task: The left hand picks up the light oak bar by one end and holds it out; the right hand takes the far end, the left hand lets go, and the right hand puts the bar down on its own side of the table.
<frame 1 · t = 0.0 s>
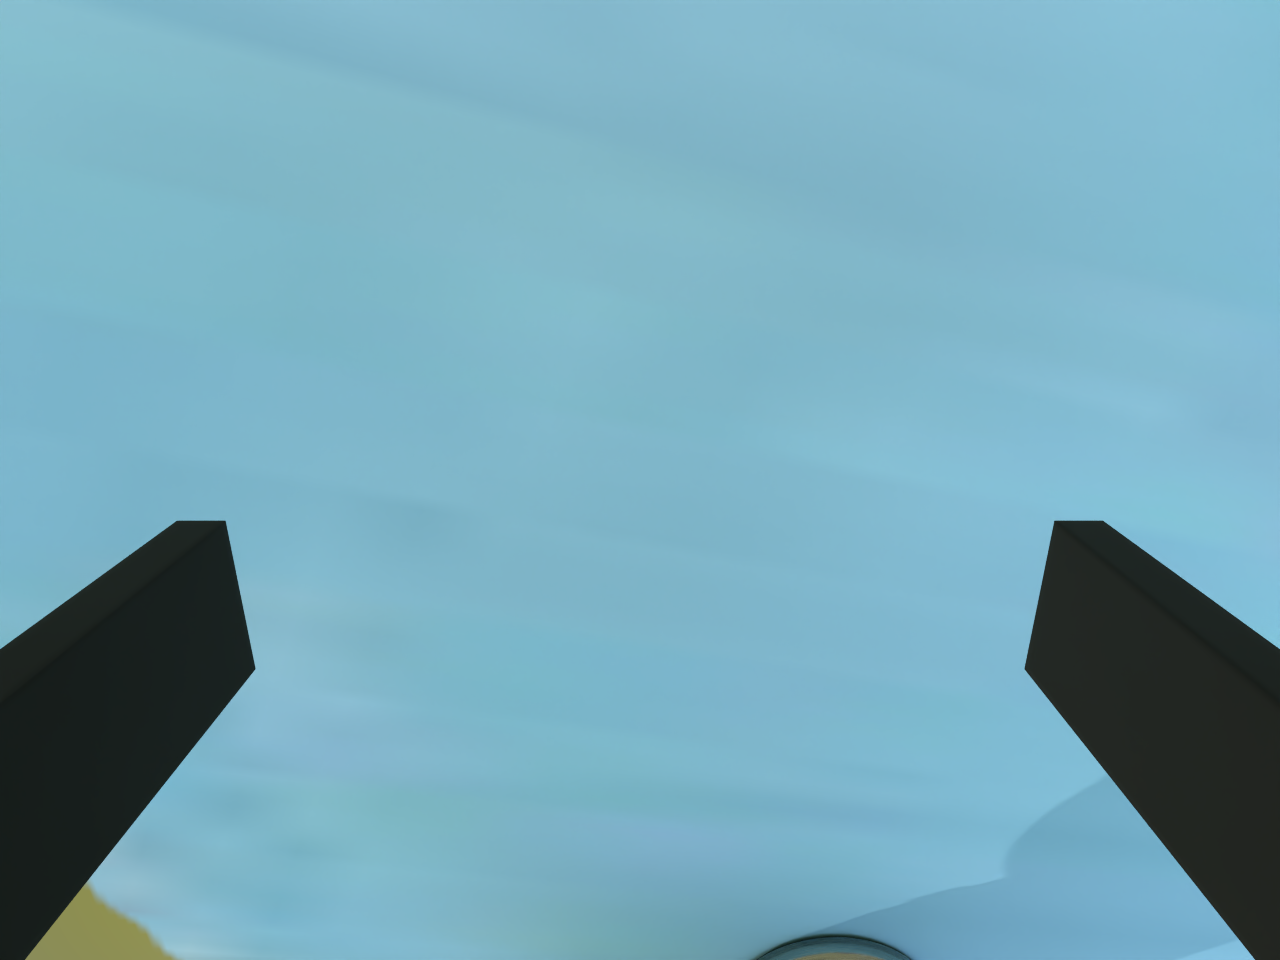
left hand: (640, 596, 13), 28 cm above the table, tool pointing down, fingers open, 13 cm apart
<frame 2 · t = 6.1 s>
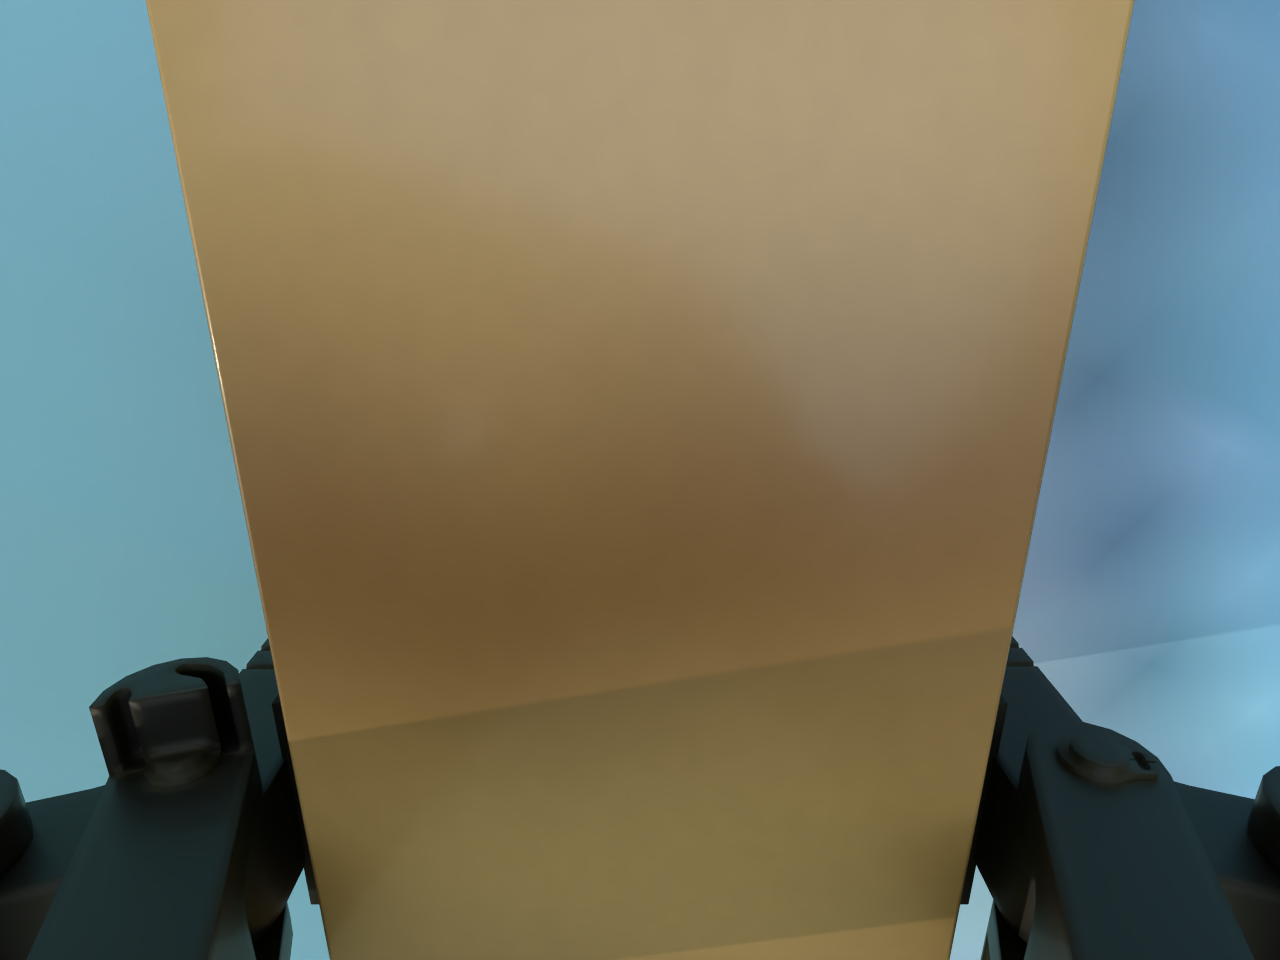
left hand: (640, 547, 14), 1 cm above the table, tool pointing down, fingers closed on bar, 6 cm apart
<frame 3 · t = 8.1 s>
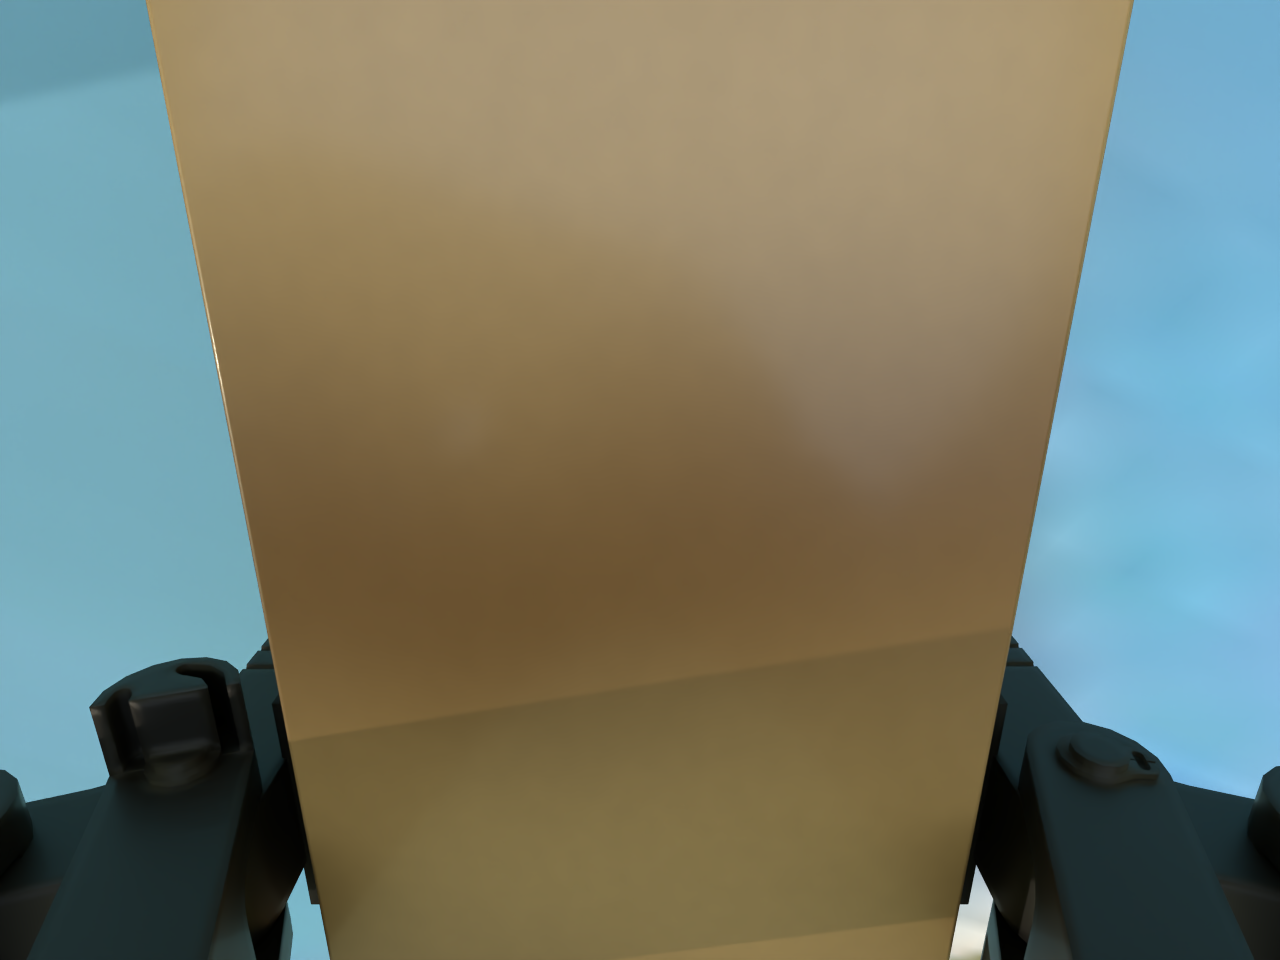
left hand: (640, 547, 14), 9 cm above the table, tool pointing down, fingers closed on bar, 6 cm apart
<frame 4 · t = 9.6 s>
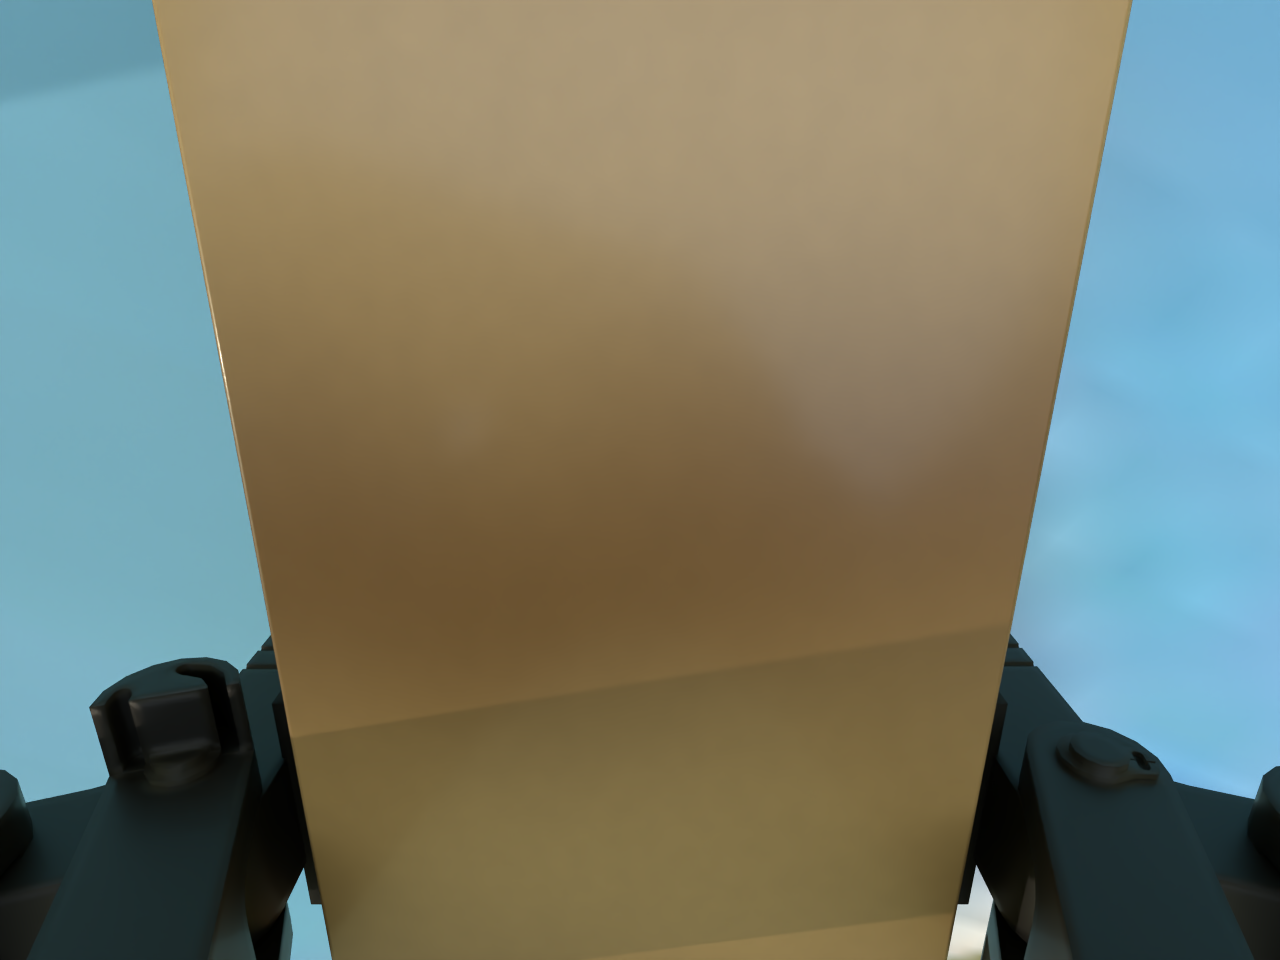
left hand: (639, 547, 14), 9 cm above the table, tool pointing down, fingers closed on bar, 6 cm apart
when the left hand's fingers open (9 cm above the table, at t = 10.5 s): bar stays where it is, held by the right hand.
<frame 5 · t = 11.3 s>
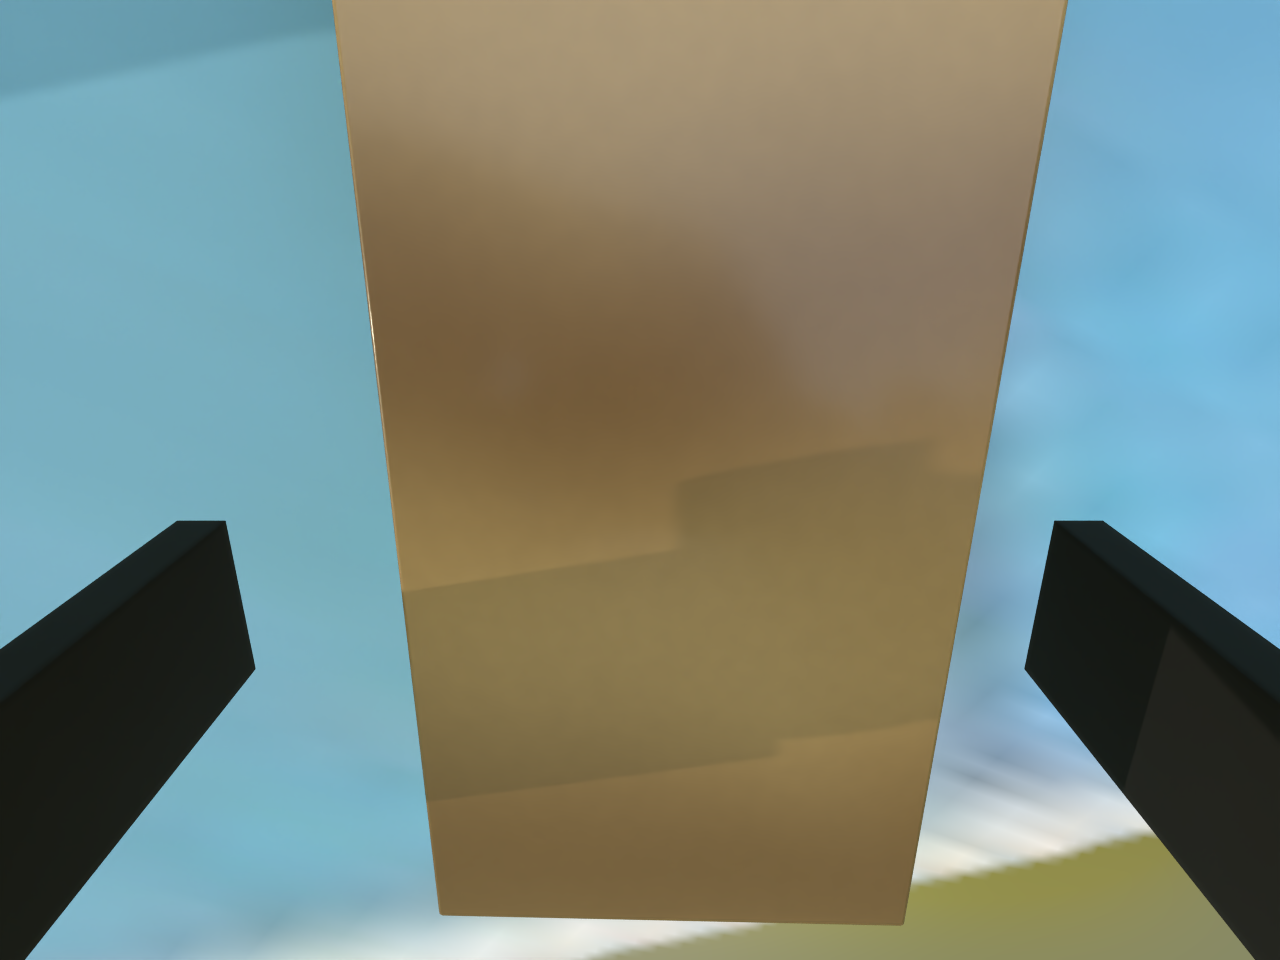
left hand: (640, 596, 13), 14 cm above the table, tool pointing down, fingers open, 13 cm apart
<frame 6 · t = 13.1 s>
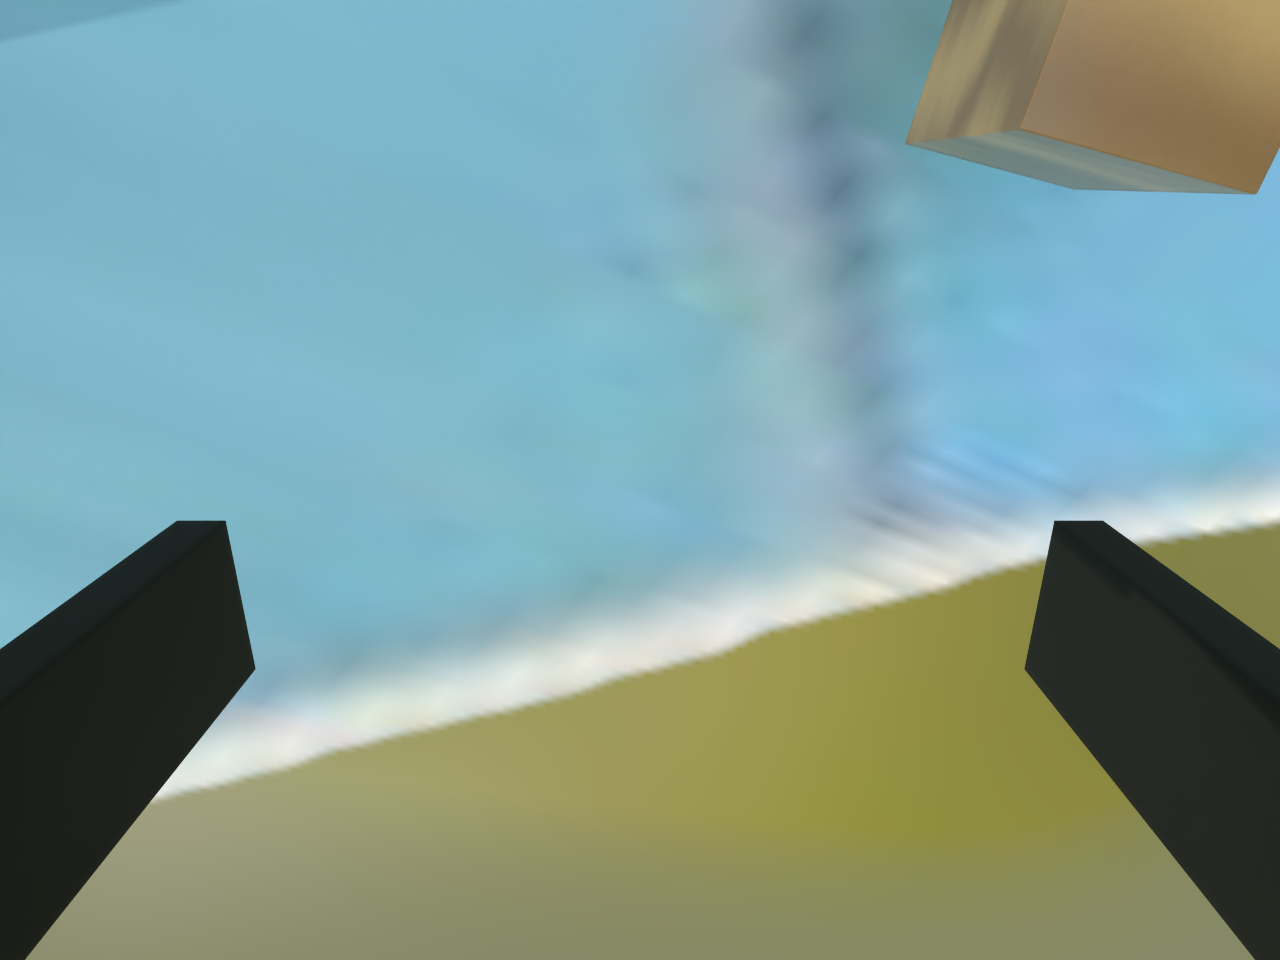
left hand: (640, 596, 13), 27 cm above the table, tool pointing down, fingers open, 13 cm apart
when the right hand's fingers open (4 cm above the table, at t = 17.0 s): bar stays where it is, on the table.
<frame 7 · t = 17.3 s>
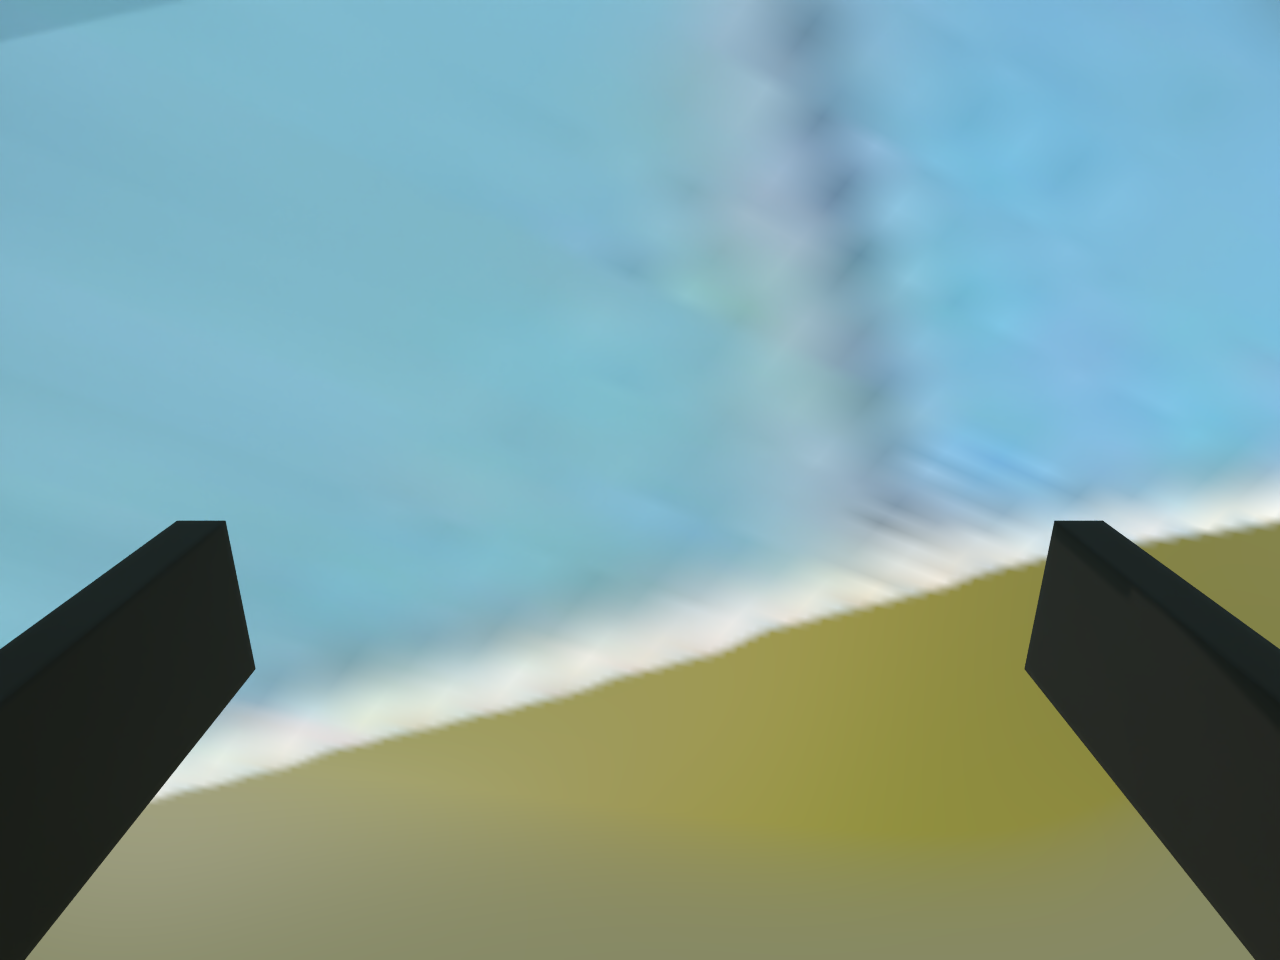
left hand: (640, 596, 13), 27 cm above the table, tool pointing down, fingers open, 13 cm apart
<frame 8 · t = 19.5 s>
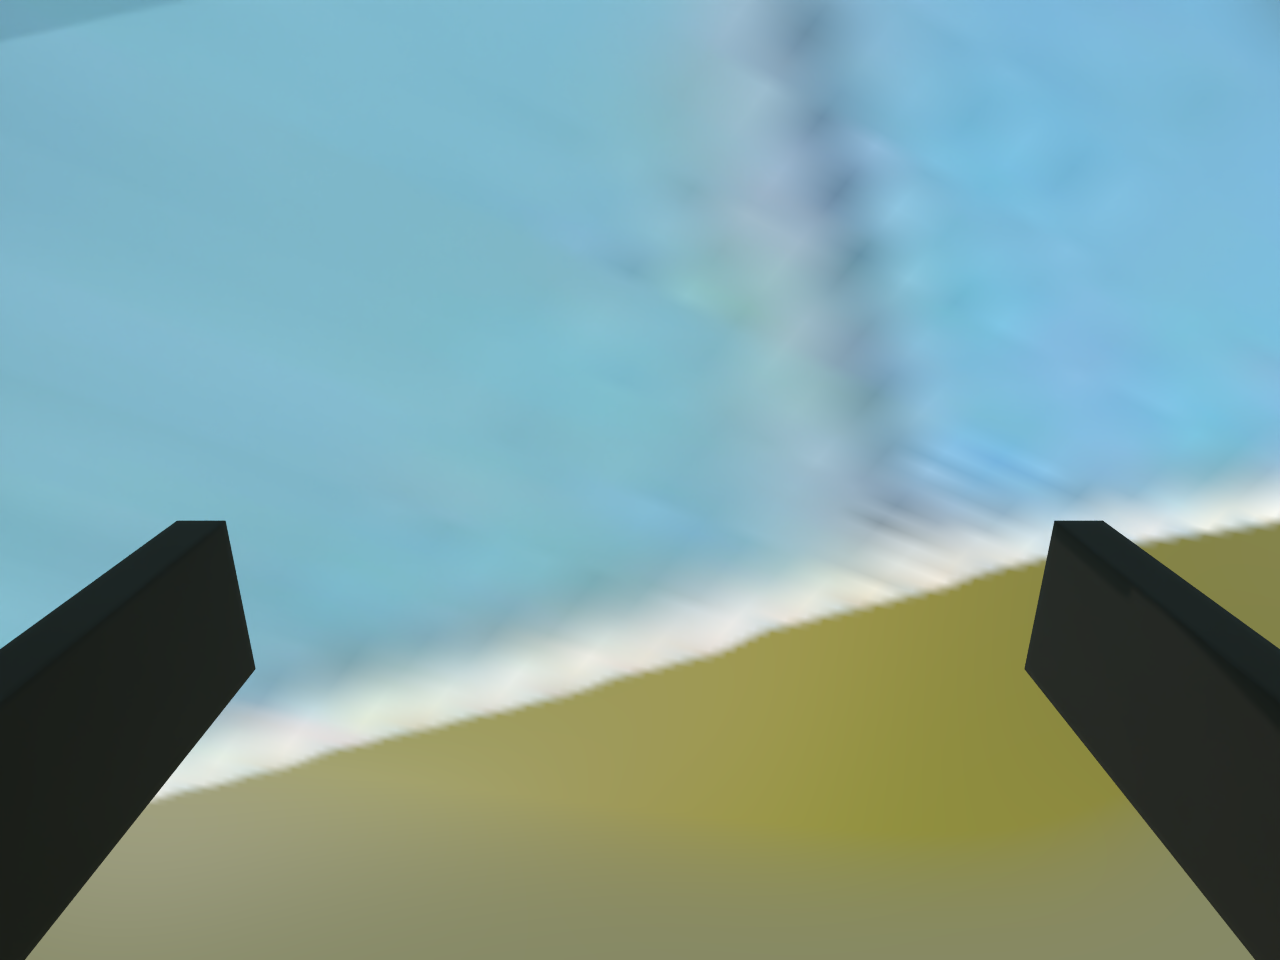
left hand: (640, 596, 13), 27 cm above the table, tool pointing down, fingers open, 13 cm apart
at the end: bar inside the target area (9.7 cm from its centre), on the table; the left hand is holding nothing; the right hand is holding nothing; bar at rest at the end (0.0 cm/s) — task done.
